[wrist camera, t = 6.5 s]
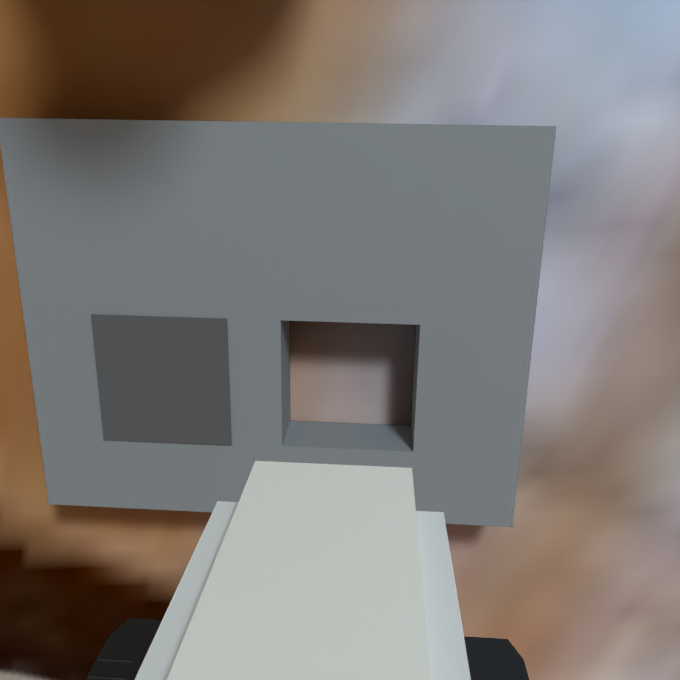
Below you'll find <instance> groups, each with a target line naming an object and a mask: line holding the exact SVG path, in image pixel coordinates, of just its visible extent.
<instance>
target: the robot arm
mask: <svg viewBox="0 0 680 680" xmlns="http://www.w3.org/2000/svg"><path fill="white" fill-rule="evenodd" d="M237 505H238V502H225V501H217V503H216V505H215V508H214V510H213V512H212V514H211V516H210V518H209V521H208V523H207V525H206V527H205V529H204V531H203V533H202V536H201V538H200V540H199V542H198V544H197V546H196V549H195V551H194V553H193V555H192V557H191V559H190V561H189V564H188V566H187V568H186V570H185V572H184V574H183V577H182V579H181V581H180V583H179V585H178V587H177V589H176V592H175V594H174V596H173V598H172V600H171V602H170V605H169V607H168V609H167V611H166V613H165V615H164V617H163V620H147V619H130V618H129V619H128V620H127V621H126V622H125V623H124V624H122V625H121V626H120V627H119V628H118V629H117V630H116V631H115V632H113V633H112V634H111V635H110V636H109V638H108V639H107V641H106V643H105V645H104V646H103V648H102V650H101V652H100V654H99V655H98V658H97V661H95V663H94V664H93V666H92V668H91V670H90V672H89V673H88V677H87V679H85V680H167V678H168V675H169V673H170V670H171V668H172V665H173V663H174V661H175V658H176V656H177V653H178V651H179V648H180V646H181V643H182V641H183V638H184V636H185V633H186V631H187V628H188V626H189V623H190V621H191V619H192V616H193V614H194V611H195V609H196V606H197V604H198V601H199V599H200V596H201V594H202V591H203V589H204V586H205V584H206V581H207V579H208V576H209V574H210V572H211V569H212V567H213V564H214V562H215V559H216V557H217V554H218V552H219V549H220V547H221V544H222V542H223V539H224V537H225V534H226V532H227V530H228V527H229V525H230V522H231V520H232V517H233V515H234V512H235V510H236V507H237ZM416 519H417V530H418V541H419V553H420V564H421V575H422V586H423V598H424V609H425V620H426V632H427V643H428V654H429V666H430V677H431V680H529V678H528V674H527V670H526V667H525V663H524V660H523V658H522V657H521V656H520V654H519V653H518V652H517V651H516V649H515V648H514V647H513V646H512V644H511V643H510V642H509V640H508V639H496V638H479V637H464V634H463V628H462V622H461V616H460V610H459V603H458V597H457V591H456V585H455V579H454V573H453V567H452V560H451V554H450V548H449V542H448V536H447V530H446V524H445V517H444V512H430V511H416Z"/></svg>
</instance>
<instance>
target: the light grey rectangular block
mask: <svg viewBox="0 0 680 680" xmlns="http://www.w3.org/2000/svg"><path fill="white" fill-rule="evenodd" d="M167 680H431V677H430V666H429V654H428V643H427V632H426V620H425V609H424V598H423V586H422V575H421V564H420V553H419V541H418V530H417V519H416V507H415V496H414V485H413V473H412V468H404V467H382V466H360V465H337V464H315V463H293V462H271V461H255V463H254V465H253V468H252V470H251V473H250V475H249V478H248V480H247V483H246V485H245V487H244V490H243V492H242V495H241V497H240V500H239V502H238V505H237V507H236V510H235V512H234V515H233V517H232V520H231V522H230V525H229V527H228V530H227V532H226V534H225V537H224V539H223V542H222V544H221V547H220V549H219V552H218V554H217V557H216V559H215V562H214V564H213V567H212V569H211V572H210V574H209V576H208V579H207V581H206V584H205V586H204V589H203V591H202V594H201V596H200V599H199V601H198V604H197V606H196V609H195V611H194V614H193V616H192V619H191V621H190V623H189V626H188V628H187V631H186V633H185V636H184V638H183V641H182V643H181V646H180V648H179V651H178V653H177V656H176V658H175V661H174V663H173V665H172V668H171V670H170V673H169V675H168V678H167Z"/></svg>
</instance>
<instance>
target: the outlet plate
mask: <svg viewBox="0 0 680 680" xmlns="http://www.w3.org/2000/svg"><path fill="white" fill-rule="evenodd" d="M555 132H556V126H497V125H432V124H368V123H303V122H239V121H174V120H109V119H45V118H0V146H1V153H2V161H3V168H4V176H5V183H6V190H7V198H8V205H9V213H10V220H11V227H12V235H13V242H14V250H15V257H16V264H17V272H18V279H19V286H20V294H21V301H22V309H23V316H24V323H25V331H26V338H27V346H28V353H29V360H30V368H31V375H32V383H33V390H34V397H35V405H36V412H37V420H38V427H39V434H40V442H41V449H42V456H43V464H44V471H45V479H46V486H47V493H48V501H49V504H52V505H72V506H93V507H113V508H134V509H154V510H174V511H195V512H213V510H214V508H215V505H216V503H217V501H225V502H239V500H240V497H241V495H242V492H243V490H244V487H245V485H246V483H247V480H248V478H249V475H250V473H251V470H252V468H253V465H254V463H255V461H271V462H293V463H315V464H337V465H360V466H382V467H404V468H412V473H413V485H414V496H415V507H416V511H430V512H444V517H445V524H460V525H480V526H501V527H512V523H513V514H514V505H515V496H516V487H517V478H518V469H519V460H520V451H521V442H522V432H523V423H524V414H525V405H526V396H527V387H528V378H529V369H530V360H531V351H532V341H533V332H534V323H535V314H536V305H537V296H538V287H539V278H540V269H541V260H542V251H543V241H544V232H545V223H546V214H547V205H548V196H549V187H550V178H551V169H552V160H553V150H554V141H555ZM289 321H316V322H347V323H378V324H409V325H416V336H415V355H414V374H413V393H412V412H411V426H403V425H378V424H354V423H329V422H305V421H290V324H289Z"/></svg>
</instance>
